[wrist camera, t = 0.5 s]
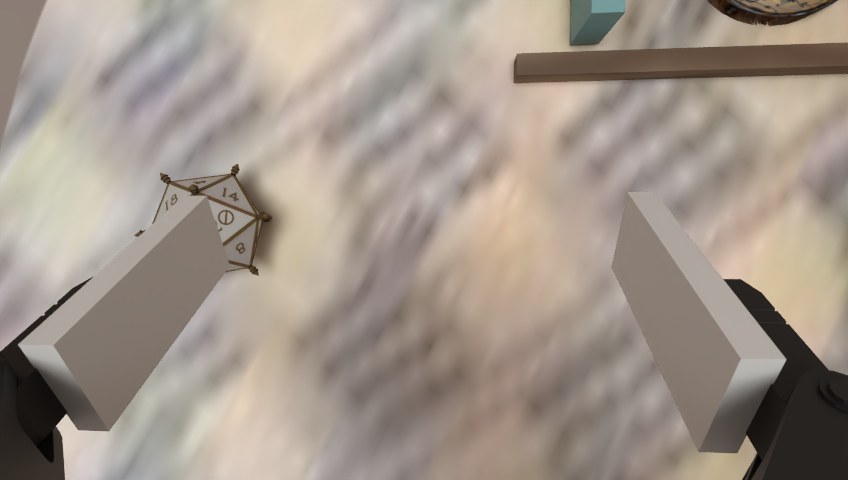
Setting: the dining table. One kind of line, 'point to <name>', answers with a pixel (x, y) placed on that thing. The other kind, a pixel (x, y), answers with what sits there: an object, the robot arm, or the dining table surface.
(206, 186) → the game die
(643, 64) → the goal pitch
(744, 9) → the burger
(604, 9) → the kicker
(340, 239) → the dining table surface
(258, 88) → the dining table surface
